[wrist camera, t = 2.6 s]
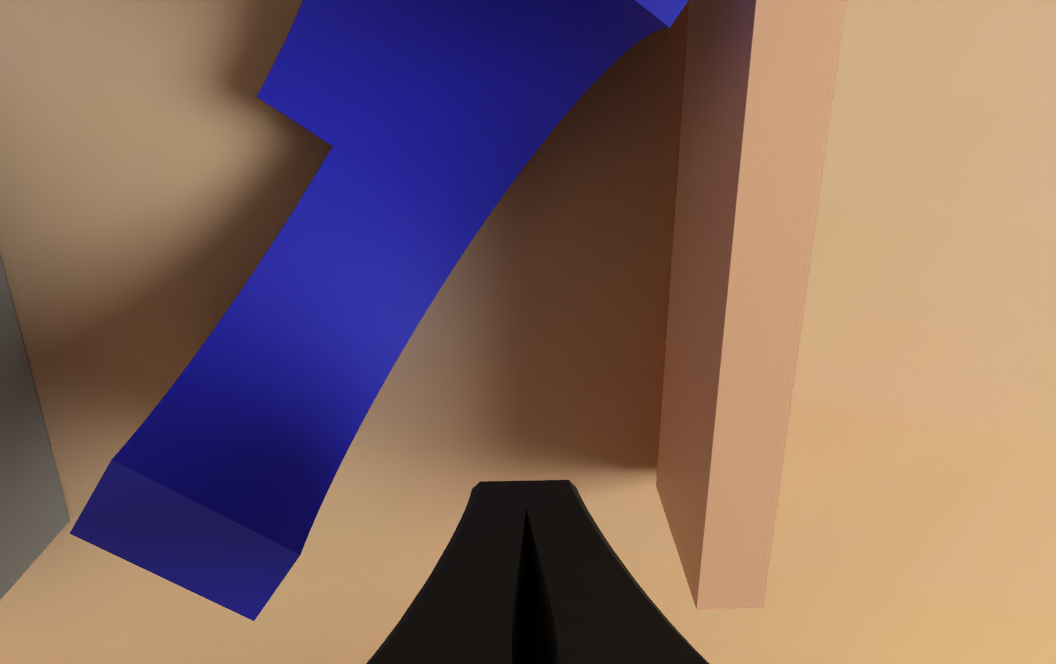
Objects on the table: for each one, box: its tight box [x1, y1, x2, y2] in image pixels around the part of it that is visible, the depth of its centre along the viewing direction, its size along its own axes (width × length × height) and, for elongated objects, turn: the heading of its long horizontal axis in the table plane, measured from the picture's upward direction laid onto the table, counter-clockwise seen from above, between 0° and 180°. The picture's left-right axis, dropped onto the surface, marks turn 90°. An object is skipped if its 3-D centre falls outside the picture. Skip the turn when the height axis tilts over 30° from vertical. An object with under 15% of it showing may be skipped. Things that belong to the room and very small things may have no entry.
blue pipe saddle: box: [70, 0, 689, 621], centre depth 13 cm, size 12×4×6 cm, turn 145°
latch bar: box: [656, 0, 847, 609], centre depth 13 cm, size 16×2×4 cm, turn 0°
